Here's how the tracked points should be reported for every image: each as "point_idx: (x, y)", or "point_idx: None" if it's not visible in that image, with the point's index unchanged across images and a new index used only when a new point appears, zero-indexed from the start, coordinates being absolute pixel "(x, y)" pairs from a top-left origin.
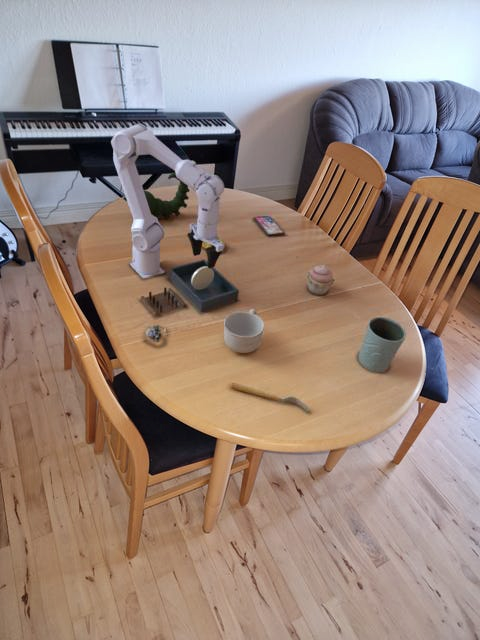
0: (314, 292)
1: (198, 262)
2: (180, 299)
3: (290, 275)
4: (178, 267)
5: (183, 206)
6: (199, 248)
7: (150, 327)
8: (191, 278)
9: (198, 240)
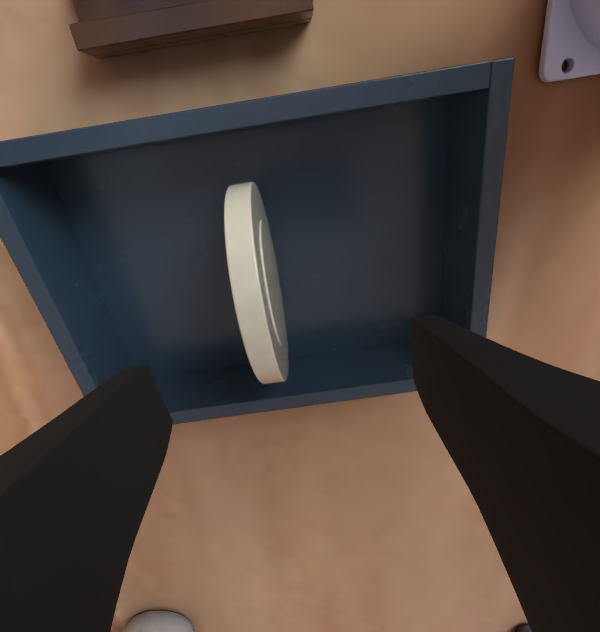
0: (134, 621)
1: None
2: (138, 30)
3: (265, 597)
4: (484, 163)
5: None
6: (449, 428)
7: None
8: (249, 187)
9: (536, 545)
